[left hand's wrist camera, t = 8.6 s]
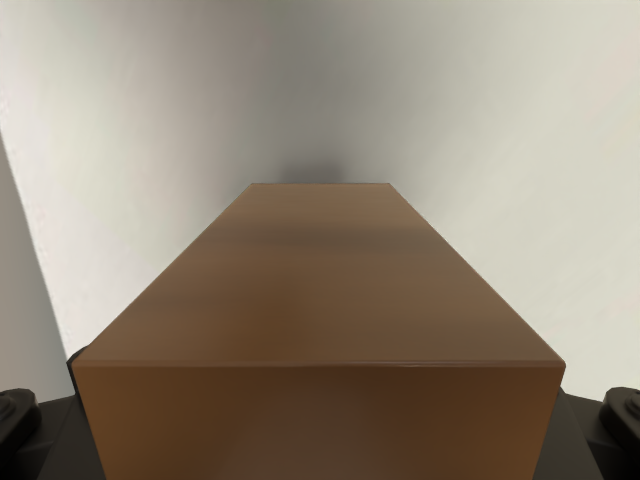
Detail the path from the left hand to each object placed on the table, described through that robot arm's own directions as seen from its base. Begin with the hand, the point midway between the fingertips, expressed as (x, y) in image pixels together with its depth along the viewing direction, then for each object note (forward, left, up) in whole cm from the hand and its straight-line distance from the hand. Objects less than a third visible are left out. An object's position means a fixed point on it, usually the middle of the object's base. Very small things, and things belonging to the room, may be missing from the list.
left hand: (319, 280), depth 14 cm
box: (+10, 0, -2) cm, 10 cm away
